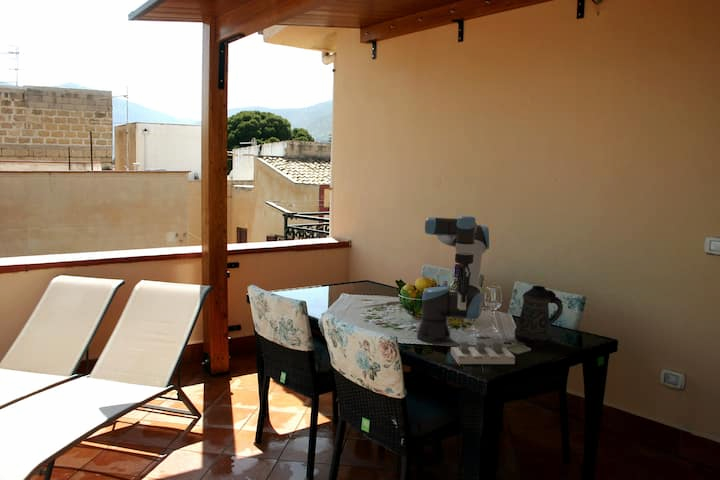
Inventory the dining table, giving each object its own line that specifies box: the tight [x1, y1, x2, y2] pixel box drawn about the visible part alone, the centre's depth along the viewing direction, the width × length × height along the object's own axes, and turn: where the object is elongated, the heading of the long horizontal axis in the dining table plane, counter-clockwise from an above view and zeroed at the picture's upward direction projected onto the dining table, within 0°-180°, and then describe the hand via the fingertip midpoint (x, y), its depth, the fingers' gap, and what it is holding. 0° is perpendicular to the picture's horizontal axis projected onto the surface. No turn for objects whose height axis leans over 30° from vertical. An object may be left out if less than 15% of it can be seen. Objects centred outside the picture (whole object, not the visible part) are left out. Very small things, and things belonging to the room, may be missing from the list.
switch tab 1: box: [459, 340, 469, 353], centre depth 244 cm, size 4×3×4 cm
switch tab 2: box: [475, 340, 486, 353], centre depth 245 cm, size 4×3×4 cm
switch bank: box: [450, 346, 516, 365], centre depth 243 cm, size 13×23×3 cm, turn 95°
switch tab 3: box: [492, 341, 502, 353], centre depth 246 cm, size 4×3×4 cm
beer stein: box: [514, 285, 564, 346], centre depth 271 cm, size 16×19×25 cm
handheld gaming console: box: [490, 339, 532, 355], centre depth 259 cm, size 10×2×15 cm
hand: (461, 308), depth 249 cm, fingers open, 2 cm apart
